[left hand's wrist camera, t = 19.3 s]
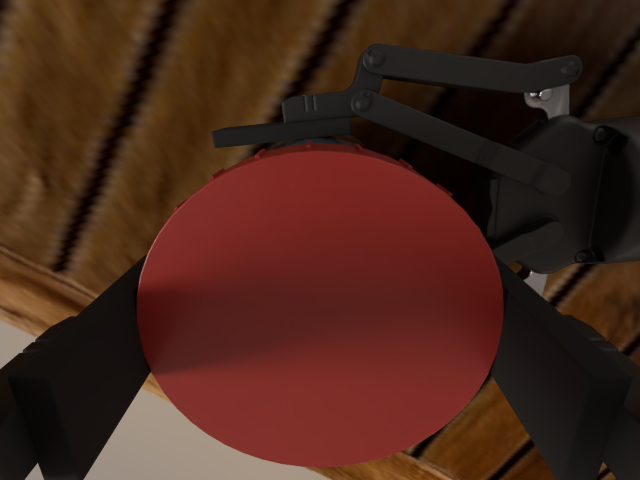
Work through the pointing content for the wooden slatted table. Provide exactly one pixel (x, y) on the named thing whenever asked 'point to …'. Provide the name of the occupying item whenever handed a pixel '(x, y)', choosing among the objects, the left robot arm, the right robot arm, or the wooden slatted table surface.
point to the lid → (320, 306)
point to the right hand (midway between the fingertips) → (237, 226)
